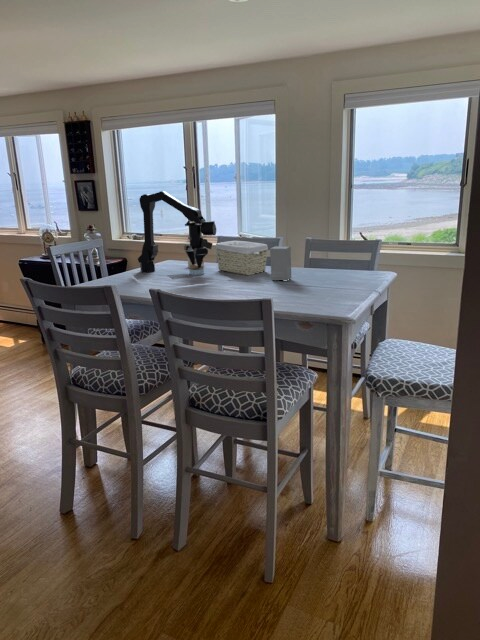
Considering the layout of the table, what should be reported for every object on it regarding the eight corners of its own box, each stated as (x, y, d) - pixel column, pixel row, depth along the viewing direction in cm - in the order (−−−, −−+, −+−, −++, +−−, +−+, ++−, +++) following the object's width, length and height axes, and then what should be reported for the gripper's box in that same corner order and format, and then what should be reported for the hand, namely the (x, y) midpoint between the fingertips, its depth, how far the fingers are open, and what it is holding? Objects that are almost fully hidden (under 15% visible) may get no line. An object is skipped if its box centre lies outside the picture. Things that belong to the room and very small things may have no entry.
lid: (192, 270, 232) (192, 267, 232) (187, 268, 238) (187, 265, 238) (205, 269, 235) (205, 265, 235) (200, 266, 241) (200, 263, 241)
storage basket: (269, 272, 244) (269, 243, 240) (248, 276, 233) (247, 246, 229) (236, 266, 260) (235, 240, 256) (214, 271, 249) (214, 243, 245)
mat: (173, 280, 225) (172, 278, 225) (166, 277, 234) (166, 275, 233) (192, 278, 229) (192, 276, 229) (186, 275, 238) (186, 273, 237)
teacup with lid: (196, 269, 254) (195, 247, 251) (184, 267, 260) (183, 246, 256) (211, 265, 263) (210, 245, 260) (199, 264, 269) (198, 243, 265)
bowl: (192, 277, 233) (192, 270, 232) (187, 274, 240) (187, 268, 239) (206, 276, 236) (205, 269, 235) (201, 273, 242) (200, 266, 241)
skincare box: (291, 279, 225) (292, 246, 220) (286, 282, 218) (287, 248, 214) (275, 278, 228) (275, 245, 224) (269, 281, 222) (269, 247, 217)
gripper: (217, 236, 227) (218, 267, 232) (203, 232, 243) (204, 262, 248) (195, 237, 223) (197, 269, 227) (183, 233, 239) (184, 264, 243)
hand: (196, 266), depth 237 cm, fingers open, 9 cm apart
